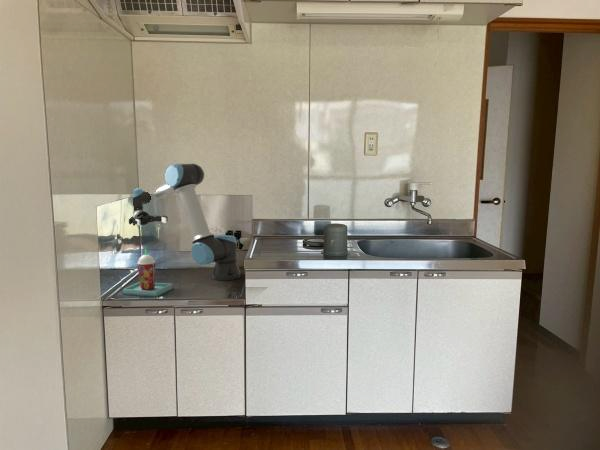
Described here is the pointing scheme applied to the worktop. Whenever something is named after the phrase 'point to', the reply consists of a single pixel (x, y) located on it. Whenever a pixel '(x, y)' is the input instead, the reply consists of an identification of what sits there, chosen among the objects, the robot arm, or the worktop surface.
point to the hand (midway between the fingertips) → (153, 221)
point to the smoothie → (146, 272)
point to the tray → (157, 291)
